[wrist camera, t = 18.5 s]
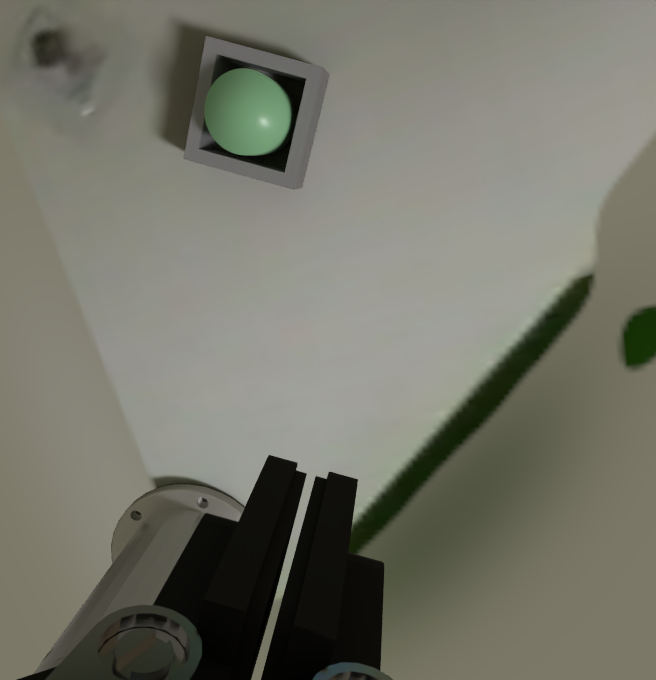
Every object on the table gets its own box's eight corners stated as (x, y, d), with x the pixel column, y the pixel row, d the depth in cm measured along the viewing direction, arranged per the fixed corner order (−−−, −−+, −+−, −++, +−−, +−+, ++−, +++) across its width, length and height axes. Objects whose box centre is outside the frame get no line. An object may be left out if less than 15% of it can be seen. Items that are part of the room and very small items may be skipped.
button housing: (301, 187, 40) (294, 189, 38) (198, 158, 41) (183, 158, 38) (329, 74, 38) (323, 67, 36) (220, 44, 39) (206, 35, 36)
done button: (286, 164, 40) (274, 164, 36) (217, 144, 40) (197, 143, 36) (304, 88, 38) (293, 80, 34) (232, 68, 38) (213, 58, 34)
